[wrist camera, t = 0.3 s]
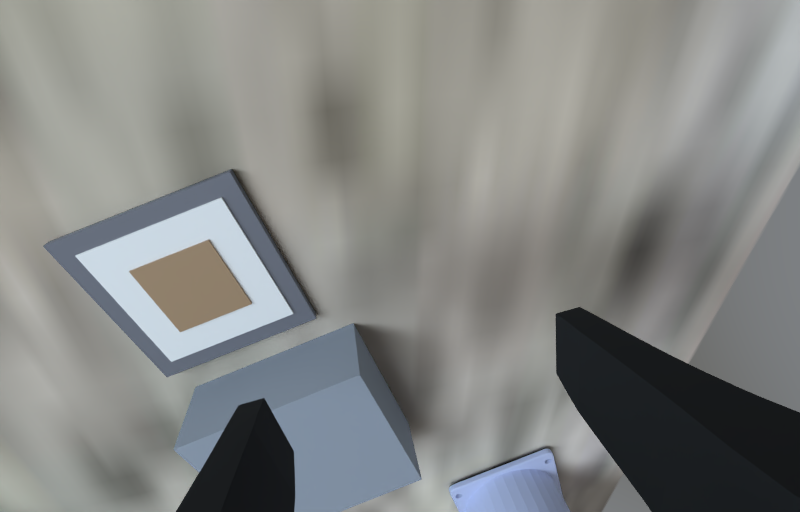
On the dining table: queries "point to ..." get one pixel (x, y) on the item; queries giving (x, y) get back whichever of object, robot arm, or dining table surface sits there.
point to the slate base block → (316, 420)
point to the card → (187, 274)
